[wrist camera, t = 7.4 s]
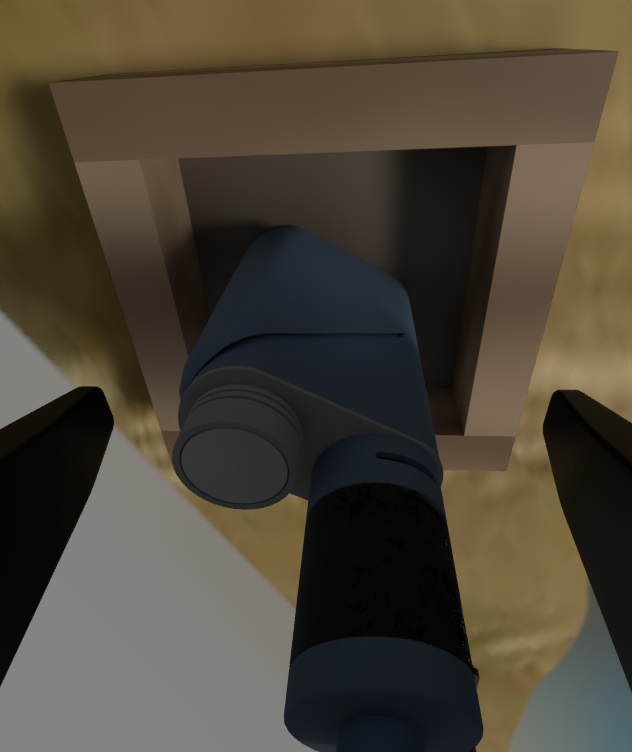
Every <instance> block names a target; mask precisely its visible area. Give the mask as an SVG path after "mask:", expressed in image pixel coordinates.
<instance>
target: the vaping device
mask: <svg viewBox="0 0 632 752" xmlns="http://www.w3.org/2000/svg"><path fill="white" fill-rule="evenodd" d="M179 394H180V405H179V408H178V423H179V428H180V431H181V432H180V434H179V436H178V438H177V440H176V442H175V445H174V448H173V451H172V463H173V467H174V470H175V472H176V474H177V476H178V477H179V479H180V480H181V482H182V483H183V484H184V485H185V486H186V487H187V488H188V489H189V490H191V491H192V492H193V493H194V494H196V495H197V496H199V497H201V498H203V499H204V500H206V501H209V502H211V503H213V504H216V505H220V506H223V507H227V508H233V509H243V510H244V509H258V508H264V507H267V506H270V505H273V504H275V503H277V502H279V501H280V500H282V499H283V498H285V497H286V496H287V495H288V494H289V493H290V494H293V495H295V496H298V497H301V498H303V499H306V500H308V509H307V517H306V526H305V535H304V544H303V553H302V561H301V570H300V579H299V588H298V597H297V605H296V614H295V624H294V632H293V641H292V649H291V658H290V669H289V676H288V684H287V693H286V702H285V712H284V722H285V725H286V727H287V730H288V731H289V732H290V733H291V734H292V735H293V737H294V738H296V739H297V740H298V741H300V742H301V743H302V744H304V745H306V746H308V747H310V748H312V749H314V750H317V751H319V752H469V751H470V750H472V749H473V748H474V747H475V746H477V745H478V743H479V742H480V740H481V739H482V735H483V723H482V718H481V712H480V706H479V701H478V695H477V689H476V684H475V680H474V676H473V675H474V673H472V672H473V670H472V669H473V667H472V666H471V665H472V661H471V656H470V650H469V644H468V639H467V633H466V627H465V624H464V623H465V622H464V619H463V618H464V617H462V615H463V612H461V611H462V606H461V599H460V594H459V588H458V582H457V577H456V571H455V565H454V560H453V554H452V548H451V543H450V537H449V532H448V526H447V520H446V515H445V509H444V503H443V498H442V492H441V484H442V482H443V467H442V463H441V461H440V458H439V454H438V448H437V443H436V437H435V432H434V427H433V421H432V416H431V411H430V405H429V400H428V395H427V391H426V386H425V382H424V376H423V371H422V366H421V360H420V355H419V349H418V344H417V339H416V333H415V328H414V322H413V317H412V312H411V306H410V301H409V295H408V290H407V288H406V286H405V285H404V283H403V282H402V281H401V280H400V279H398V278H397V277H395V276H393V275H391V274H389V273H387V272H385V271H384V270H382V269H380V268H378V267H376V266H374V265H372V264H370V263H368V262H366V261H364V260H362V259H361V258H359V257H357V256H355V255H353V254H351V253H349V252H347V251H345V250H343V249H341V248H340V247H338V246H336V245H334V244H332V243H330V242H328V241H326V240H324V239H322V238H320V237H318V236H317V235H315V234H313V233H311V232H309V231H307V230H305V229H303V228H300V227H296V226H285V227H280V228H278V229H273V230H271V231H268V232H266V233H264V234H262V235H260V236H259V237H258V238H257V239H256V240H255V241H253V242H252V243H251V244H250V246H249V248H248V249H247V251H246V252H245V254H244V256H243V258H242V259H241V261H240V263H239V265H238V267H237V269H236V271H235V272H234V274H233V276H232V278H231V280H230V282H229V283H228V285H227V287H226V289H225V291H224V293H223V295H222V296H221V298H220V300H219V302H218V304H217V306H216V307H215V309H214V311H213V313H212V315H211V317H210V319H209V320H208V322H207V324H206V326H205V328H204V330H203V332H202V333H201V335H200V337H199V339H198V341H197V343H196V344H195V346H194V348H193V350H192V352H191V354H190V356H189V357H188V359H187V361H186V363H185V365H184V369H183V373H182V378H181V383H180V388H179ZM447 538H448V539H447ZM446 541H447V542H446ZM446 543H447V545H446ZM445 546H446V547H445ZM458 610H459V611H458ZM455 614H456V616H455ZM462 620H463V622H464V623H463V622H462ZM461 623H462V624H461ZM460 624H461V626H460ZM463 626H464V629H463ZM464 632H465V633H464ZM462 634H463V635H462ZM465 634H466V635H465ZM464 635H465V636H464ZM466 642H467V643H466ZM462 644H463V645H462ZM468 659H469V660H468ZM469 662H470V663H469ZM466 664H467V665H466ZM471 667H472V668H471ZM470 669H471V670H470Z"/></svg>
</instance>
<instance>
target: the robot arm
mask: <svg viewBox="0 0 632 752" xmlns="http://www.w3.org/2000/svg"><path fill="white" fill-rule="evenodd" d="M113 426H114V419H113V415H112V412H111V410H110V407H109V405H108V402H107V400H106V397H105V395H104V392H103V391H102V389H101V388H99V387H89V386H82V387H78V388H76V389H74V390H72V391H70V392H68V393H66V394H65V395H63V396H61V397H59V398H57V399H55V400H53V401H51V402H50V403H48V404H46V405H44V406H42V407H40V408H39V409H37V410H35V411H33V412H31V413H29V414H27V415H26V416H24V417H22V418H20V419H18V420H16V421H15V422H13V423H11V424H9V425H7V426H5V427H4V428H2V429H0V686H1V684H2V682H3V680H4V678H5V676H6V673H7V671H8V669H9V667H10V665H11V663H12V661H13V658H14V656H15V654H16V652H17V650H18V648H19V646H20V644H21V641H22V639H23V637H24V635H25V633H26V630H27V629H28V626H29V624H30V622H31V620H32V618H33V616H34V614H35V611H36V609H37V607H38V605H39V603H40V601H41V599H42V596H43V594H44V592H45V590H46V588H47V586H48V584H49V581H50V579H51V577H52V575H53V573H54V571H55V569H56V566H57V564H58V562H59V560H60V558H61V556H62V554H63V551H64V549H65V547H66V545H67V543H68V541H69V539H70V537H71V534H72V532H73V530H74V528H75V526H76V524H77V522H78V519H79V517H80V515H81V513H82V511H83V509H84V506H85V504H86V502H87V500H88V498H89V496H90V493H91V491H92V488H93V485H94V483H95V480H96V477H97V474H98V471H99V469H100V465H101V463H102V459H103V457H104V454H105V451H106V448H107V445H108V442H109V439H110V436H111V433H112V430H113ZM543 435H544V439H545V443H546V447H547V451H548V455H549V460H550V464H551V468H552V472H553V476H554V480H555V484H556V488H557V492H558V496H559V500H560V503H561V506H562V509H563V512H564V515H565V518H566V520H567V523H568V526H569V528H570V531H571V534H572V536H573V539H574V541H575V544H576V547H577V549H578V552H579V555H580V557H581V560H582V563H583V565H584V568H585V570H586V573H587V576H588V578H589V581H590V584H591V586H592V589H593V592H594V594H595V597H596V599H597V602H598V605H599V607H600V610H601V613H602V615H603V618H604V621H605V623H606V626H607V628H608V631H609V634H610V636H611V639H612V642H613V644H614V647H615V650H616V652H617V655H618V657H619V660H620V663H621V665H622V668H623V670H624V673H625V676H626V678H627V681H628V684H629V687H630V689H631V692H632V423H631V422H629V421H628V420H626V419H624V418H623V417H621V416H620V415H618V414H616V413H615V412H613V411H612V410H610V409H608V408H607V407H605V406H604V405H602V404H600V403H599V402H597V401H595V400H594V399H592V398H591V397H589V396H587V395H586V394H584V393H583V392H581V391H579V390H557V391H555V392H554V393H553V394H552V397H551V400H550V403H549V406H548V409H547V413H546V416H545V419H544V423H543ZM471 668H472V667H471ZM470 670H471V669H470ZM472 670H473V672H472V673H474V675H473V676H474V680H475V684H476V687H477V684H478V682H479V679H480V678H479V672H478V670H477V669H476V668H473V669H472ZM469 752H476V746H475V747H474V748H473V749H472V750H470V751H469Z"/></svg>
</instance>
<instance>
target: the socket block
mask: <svg viewBox="0 0 632 752" xmlns="http://www.w3.org/2000/svg"><path fill="white" fill-rule="evenodd" d="M618 52H619V51H603V50H582V49H544V50H527V51H509V52H492V53H474V54H457V55H439V56H421V57H404V58H386V59H369V60H351V61H333V62H316V63H298V64H281V65H263V66H246V67H228V68H210V69H193V70H175V71H158V72H140V73H123V74H109V75H102V76H95V77H88V78H81V79H74V80H67V81H59V82H52V83H49V86H50V89H51V92H52V95H53V98H54V102H55V105H56V108H57V111H58V114H59V117H60V120H61V123H62V126H63V129H64V132H65V136H66V139H67V142H68V145H69V148H70V151H71V154H72V157H73V160H74V163H75V166H76V169H77V173H78V176H79V179H80V182H81V185H82V188H83V191H84V194H85V197H86V200H87V203H88V206H89V210H90V213H91V216H92V219H93V222H94V225H95V228H96V231H97V234H98V237H99V240H100V243H101V247H102V250H103V253H104V256H105V259H106V262H107V265H108V268H109V271H110V274H111V277H112V281H113V284H114V287H115V290H116V293H117V296H118V299H119V302H120V305H121V308H122V311H123V314H124V318H125V321H126V324H127V327H128V330H129V333H130V336H131V339H132V342H133V345H134V348H135V351H136V355H137V358H138V361H139V364H140V367H141V370H142V373H143V376H144V379H145V382H146V385H147V388H148V392H149V395H150V398H151V401H152V404H153V407H154V410H155V413H156V416H157V419H158V422H159V426H160V429H161V432H162V435H163V438H164V441H165V444H166V447H167V450H168V453H169V456H170V459H171V463H172V451H173V448H174V445H175V442H176V440H177V438H178V436H179V434H180V432H181V431H180V428H179V423H178V408H179V405H180V394H179V388H180V383H181V378H182V373H183V369H184V365H185V363H186V361H187V359H188V357H189V356H190V354H191V352H192V350H193V348H194V346H195V344H196V343H197V341H198V339H199V337H200V335H201V333H202V332H203V330H204V328H205V326H206V324H207V322H208V320H209V319H210V317H211V315H212V313H213V311H214V309H215V307H216V306H217V304H218V302H219V300H220V298H221V296H222V295H223V293H224V291H225V289H226V287H227V285H228V283H229V282H230V280H231V278H232V276H233V274H234V272H235V271H236V269H237V267H238V265H239V263H240V261H241V259H242V258H243V256H244V254H245V252H246V251H247V249H248V248H249V246H250V244H251V243H252V242H253V241H255V240H256V239H257V238H258V237H259V236H260V235H262V234H264V233H266V232H268V231H271V230H273V229H278V228H280V227H285V226H296V227H300V228H303V229H305V230H307V231H309V232H311V233H313V234H315V235H317V236H318V237H320V238H322V239H324V240H326V241H328V242H330V243H332V244H334V245H336V246H338V247H340V248H341V249H343V250H345V251H347V252H349V253H351V254H353V255H355V256H357V257H359V258H361V259H362V260H364V261H366V262H368V263H370V264H372V265H374V266H376V267H378V268H380V269H382V270H384V271H385V272H387V273H389V274H391V275H393V276H395V277H397V278H398V279H400V280H401V281H402V282H403V283H404V285H405V286H406V288H407V290H408V295H409V301H410V306H411V312H412V317H413V322H414V328H415V333H416V339H417V344H418V349H419V355H420V360H421V366H422V371H423V376H424V382H425V386H426V391H427V395H428V400H429V405H430V411H431V416H432V421H433V427H434V432H435V437H436V443H437V448H438V454H439V458H440V461H441V463H442V467H443V470H477V471H506V470H507V466H508V462H509V458H510V455H511V451H512V447H513V444H514V440H515V436H516V432H517V429H518V425H519V421H520V417H521V414H522V410H523V406H524V402H525V399H526V395H527V391H528V388H529V384H530V380H531V376H532V373H533V369H534V365H535V361H536V358H537V354H538V350H539V346H540V343H541V339H542V335H543V332H544V328H545V324H546V320H547V317H548V313H549V309H550V305H551V302H552V298H553V294H554V290H555V287H556V283H557V279H558V276H559V272H560V268H561V264H562V261H563V257H564V253H565V249H566V246H567V242H568V238H569V234H570V231H571V227H572V223H573V220H574V216H575V212H576V208H577V205H578V201H579V197H580V193H581V190H582V186H583V182H584V178H585V175H586V171H587V167H588V164H589V160H590V156H591V152H592V149H593V145H594V141H595V137H596V134H597V130H598V126H599V122H600V119H601V115H602V111H603V108H604V104H605V100H606V96H607V93H608V89H609V85H610V81H611V78H612V74H613V70H614V66H615V63H616V59H617V55H618ZM172 464H173V463H172Z"/></svg>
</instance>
